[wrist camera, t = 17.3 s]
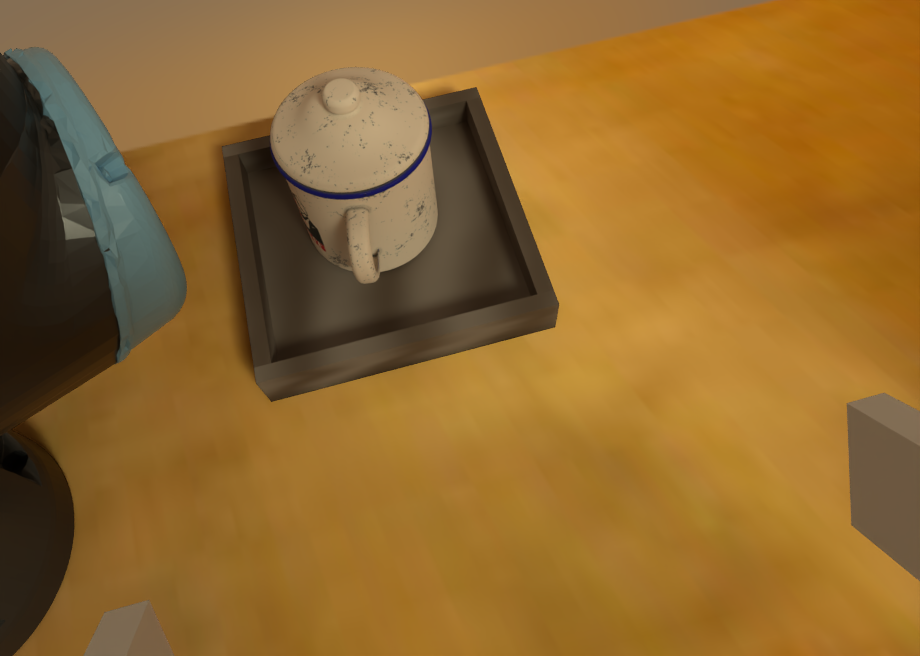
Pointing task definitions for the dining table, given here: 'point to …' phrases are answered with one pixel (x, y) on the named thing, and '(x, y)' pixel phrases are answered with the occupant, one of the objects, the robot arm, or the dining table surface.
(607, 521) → the dining table surface
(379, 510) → the dining table surface
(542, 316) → the tea tray
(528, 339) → the dining table surface
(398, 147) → the teacup with lid
